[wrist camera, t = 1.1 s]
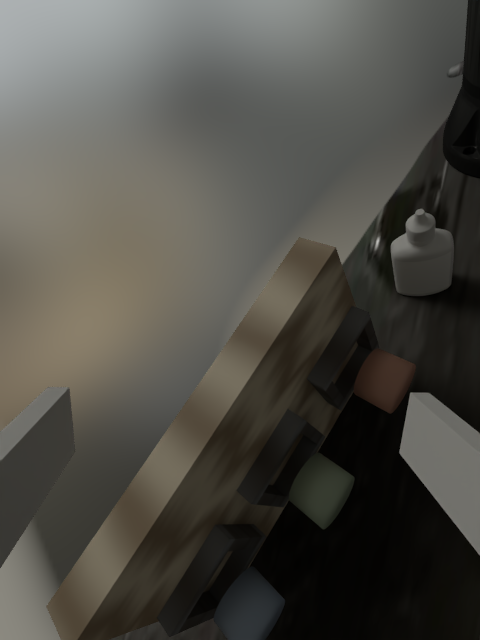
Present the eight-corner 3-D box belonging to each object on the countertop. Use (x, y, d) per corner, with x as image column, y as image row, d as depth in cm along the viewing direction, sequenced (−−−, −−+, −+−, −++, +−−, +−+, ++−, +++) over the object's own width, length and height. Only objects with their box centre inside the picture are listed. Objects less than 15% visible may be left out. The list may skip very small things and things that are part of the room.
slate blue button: (262, 563, 28) (239, 569, 25) (291, 594, 27) (271, 605, 23) (232, 615, 28) (203, 628, 24) (260, 650, 26) (234, 670, 22)
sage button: (326, 456, 30) (313, 448, 27) (358, 479, 28) (348, 473, 25) (299, 503, 29) (281, 500, 26) (330, 529, 27) (315, 529, 24)
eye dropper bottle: (440, 306, 38) (443, 237, 29) (390, 292, 42) (378, 225, 32) (456, 275, 39) (465, 197, 30) (406, 263, 43) (399, 189, 33)
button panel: (349, 346, 41) (299, 237, 25) (386, 363, 38) (356, 253, 22) (212, 569, 36) (46, 606, 21) (244, 607, 33) (79, 682, 18)
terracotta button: (382, 359, 32) (377, 340, 28) (416, 374, 30) (414, 355, 26) (358, 401, 31) (349, 386, 28) (391, 419, 29) (386, 405, 26)
